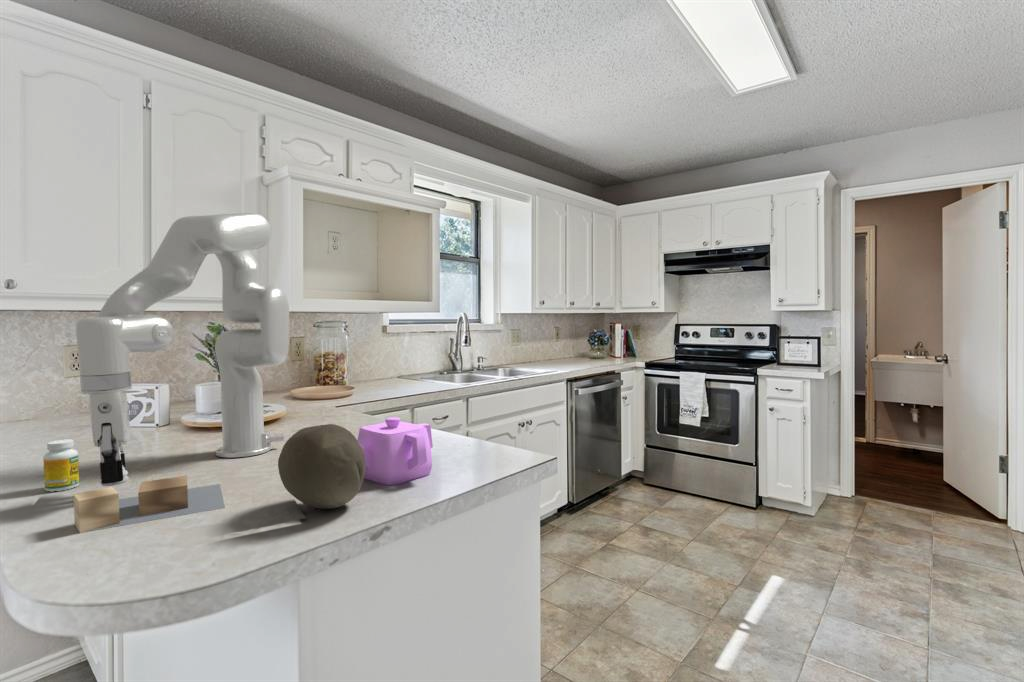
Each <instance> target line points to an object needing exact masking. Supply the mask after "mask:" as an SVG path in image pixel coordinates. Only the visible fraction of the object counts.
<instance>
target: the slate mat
mask: <svg viewBox="0 0 1024 682" xmlns="http://www.w3.org/2000/svg"><path fill="white" fill-rule="evenodd" d="M225 508H226V506H225V501H224V497H223V492H222V488H221V484H220V483H217V484H210V485H204V486H197V487H191V488H188V508H184V509H178V510H172V511H166V512H160V513H155V514H149V515H143V516H139V499H138V495H137V496H133V497H126V498H119V518H120V524H116V525H112V526H107V527H103V528H99V529H95V530H90V531H86V532H82V533H80V532H79V531H78V534H83V533H88V532H95V531H100V530H101V531H102V530H106V529H112V528H117V527H125V526H128V525H133V524H134V525H135V524H140V523H145V522H151V521H157V520H163V519H169V518H174V517H182V516H186V515H192V514H196V513H197V514H198V513H203V512H208V511H214V510H219V509H220V510H221V509H225Z"/></svg>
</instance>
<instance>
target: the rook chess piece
mask: <svg viewBox="0 0 1024 682" xmlns="http://www.w3.org/2000/svg"><path fill="white" fill-rule="evenodd" d="M112 444H116V442H115V441H112ZM121 446H122V444H121V443H120V442H119V451H120V448H121ZM112 449H115V447H113V448H112ZM120 454H121V452H120ZM120 460H121V455H120ZM122 467H123V465H122ZM128 475H129V472H128V470H127V469H126V470H125V468H124V467H123V480H122V481H120V482H113V483H107V484H102V482H101V481H100V482H99V484H100V485H101V486H102V487H113V486H118V485H122V484H125V483H126V482H128V480H129V479H130V477H129V476H128ZM99 479H100V480H101V475H100V476H99Z"/></svg>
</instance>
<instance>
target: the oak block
mask: <svg viewBox="0 0 1024 682" xmlns="http://www.w3.org/2000/svg"><path fill="white" fill-rule="evenodd" d="M119 495H120V493H119V492H118V491H117V490H116V489H115V488H114V487H113V486H107V487H103V488H97V489H93V490H88V491H83V492H78V493H73V514H74V516H73V517H74V526H75V527H76V529H77V531H78V533H79V532H80V533H79V534H83V533H82V532H84V533H87V532H86V531H90V530H95V529H99V528H103V527H107V526H112V525H116V524H120V518H119V499H120V498H119ZM95 531H96V530H95ZM90 532H91V531H90Z"/></svg>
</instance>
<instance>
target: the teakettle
mask: <svg viewBox="0 0 1024 682" xmlns="http://www.w3.org/2000/svg"><path fill="white" fill-rule="evenodd" d="M384 421H385V422H381V423H376V424H370V425H364V426H361V427H360V428H359V429H358V430H359V431H358V435H357V441H358V443H359V445H360V447H361V448H362V451H363V453H364V456H365V465H366V467H365V473H364V479H366V480H368V481H370V482H374V483H377V484H381V485H387V486H395V485H398V484H402V483H405V482H409V481H413V480H416V479H419V478H424V477H426V476H429V475H430V474H431V471H432V467H433V459H432V458H433V457H432V448H434V447H433V438H432V437H433V436H432V426H431V424H429V423H425V422H424V423H418V424H417V423H416V424H415V423H411V422H406V421H405V422H404V421H401V418H400V417H395V416H394V417H392V416H391V417H386V418H385V419H384Z"/></svg>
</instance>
